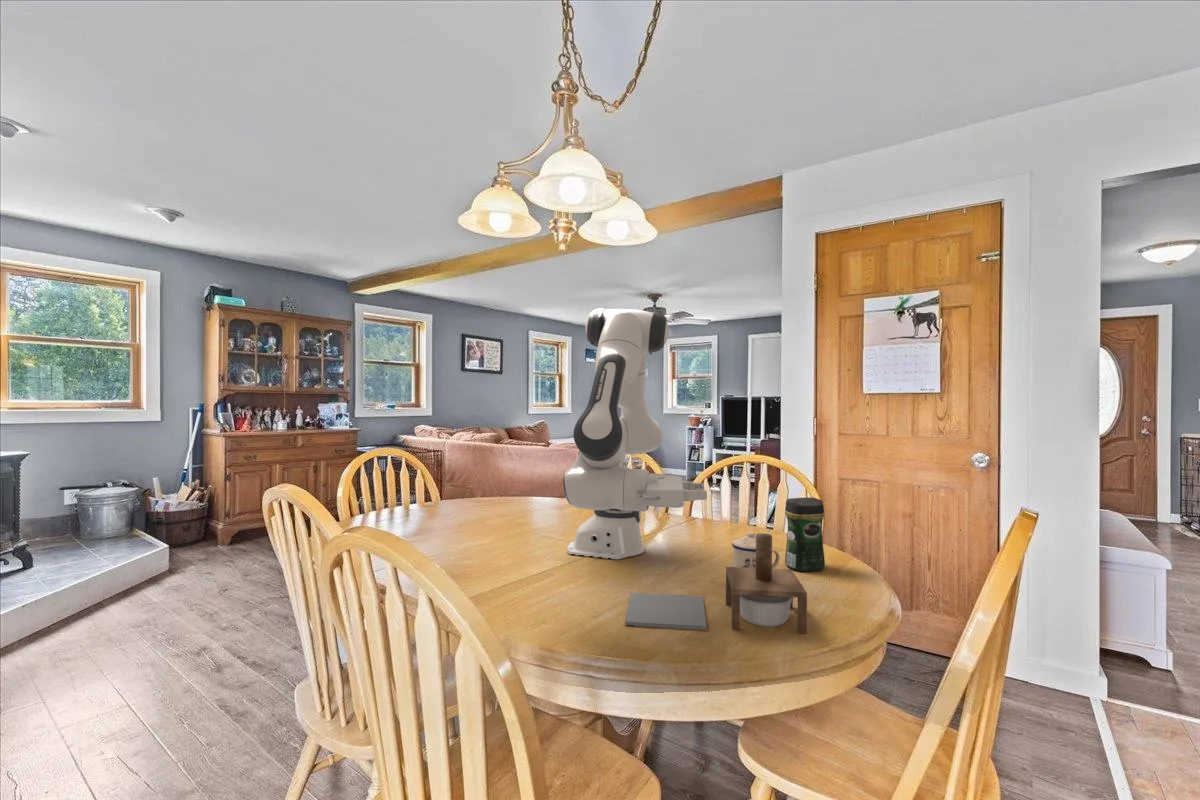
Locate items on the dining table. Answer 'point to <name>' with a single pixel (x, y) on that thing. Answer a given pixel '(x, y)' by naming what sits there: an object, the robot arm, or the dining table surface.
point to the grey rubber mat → (666, 611)
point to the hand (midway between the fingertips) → (705, 491)
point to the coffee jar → (804, 534)
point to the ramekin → (765, 609)
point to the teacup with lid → (748, 552)
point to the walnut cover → (764, 583)
